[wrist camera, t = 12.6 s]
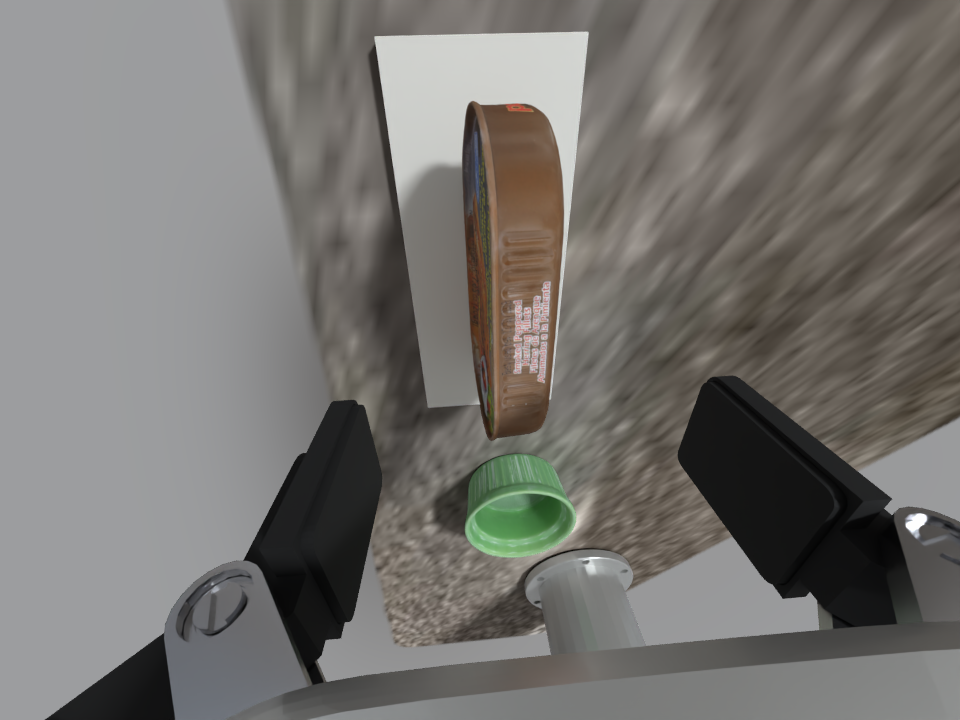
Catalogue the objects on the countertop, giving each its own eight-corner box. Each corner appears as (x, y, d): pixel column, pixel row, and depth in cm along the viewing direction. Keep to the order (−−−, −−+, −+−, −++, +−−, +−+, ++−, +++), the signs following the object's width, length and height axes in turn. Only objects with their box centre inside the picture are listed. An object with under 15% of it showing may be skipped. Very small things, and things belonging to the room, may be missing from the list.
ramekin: (554, 510, 34) (566, 555, 30) (462, 514, 34) (464, 561, 30) (569, 445, 29) (586, 489, 26) (462, 448, 29) (464, 494, 25)
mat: (548, 394, 26) (550, 399, 26) (428, 402, 26) (427, 407, 25) (583, 35, 15) (588, 31, 15) (377, 40, 15) (374, 36, 14)
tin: (458, 110, 16) (465, 87, 9) (526, 107, 16) (587, 83, 9) (472, 377, 24) (482, 478, 17) (517, 374, 24) (546, 472, 17)
